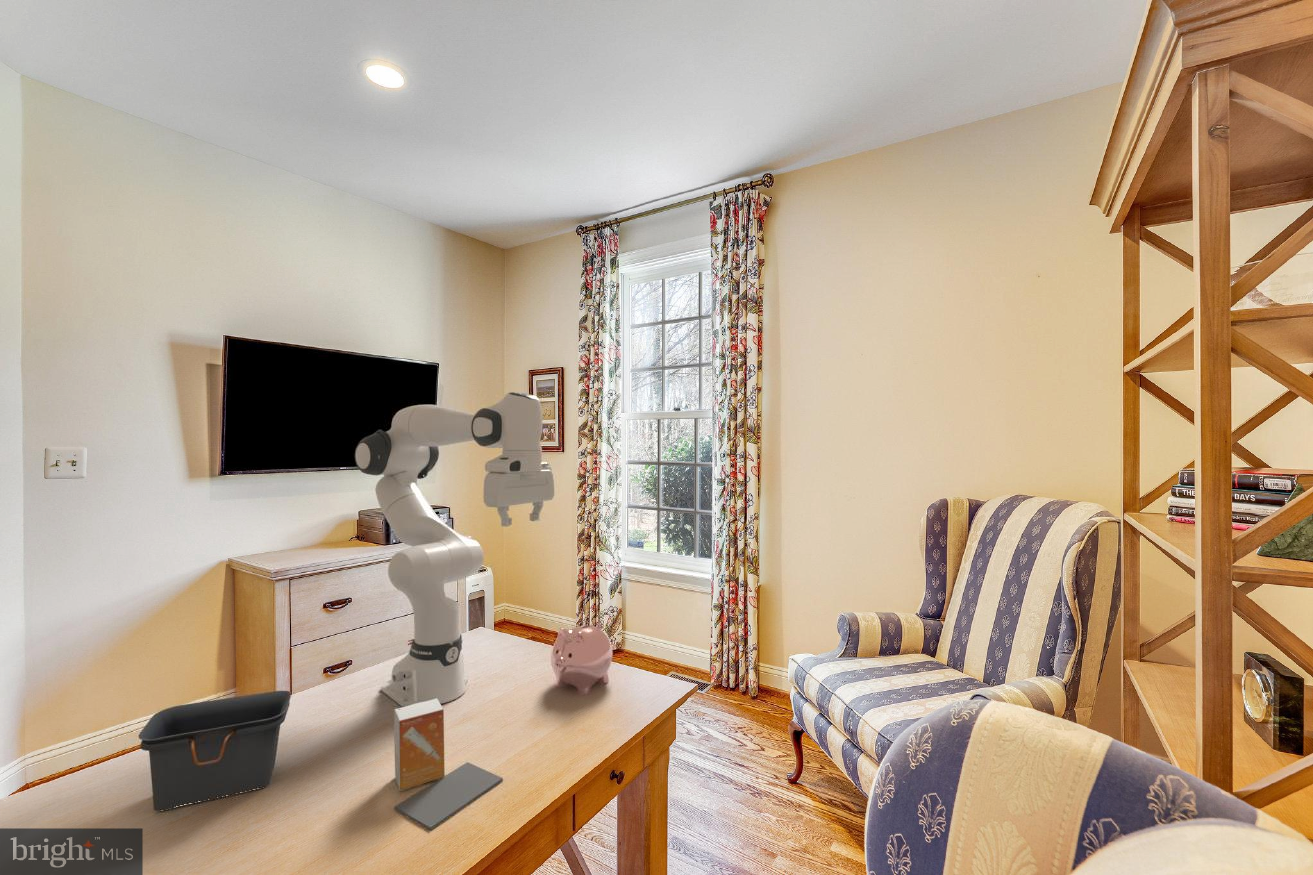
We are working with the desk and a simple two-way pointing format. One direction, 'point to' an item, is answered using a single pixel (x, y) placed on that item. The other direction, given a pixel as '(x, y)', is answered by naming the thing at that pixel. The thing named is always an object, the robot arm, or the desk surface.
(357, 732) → the desk surface
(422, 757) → the small box
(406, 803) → the mat
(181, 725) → the storage bin
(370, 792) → the desk surface
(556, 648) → the piggy bank
